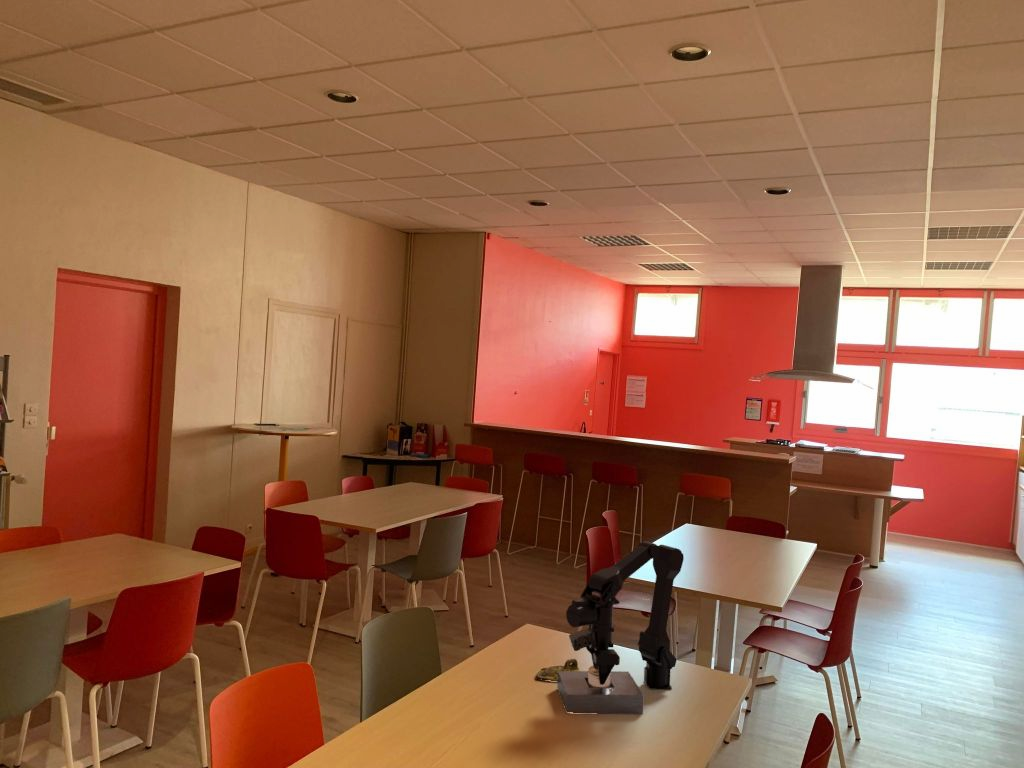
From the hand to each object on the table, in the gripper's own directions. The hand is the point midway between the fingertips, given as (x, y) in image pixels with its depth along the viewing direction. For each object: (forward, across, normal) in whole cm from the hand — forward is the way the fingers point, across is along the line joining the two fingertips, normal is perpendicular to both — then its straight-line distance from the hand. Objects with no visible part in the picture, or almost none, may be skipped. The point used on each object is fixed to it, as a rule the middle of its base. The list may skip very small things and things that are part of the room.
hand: (599, 679), depth 202 cm
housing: (+6, 0, 0) cm, 6 cm away
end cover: (+6, 0, 0) cm, 6 cm away
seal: (+6, -18, -8) cm, 21 cm away
